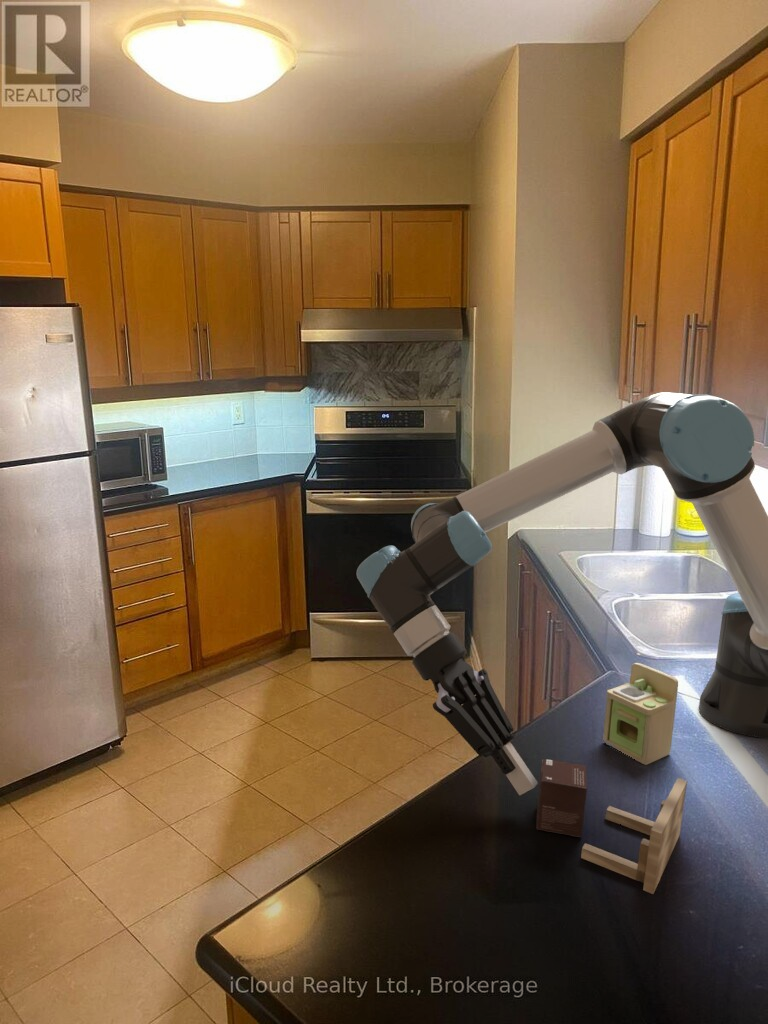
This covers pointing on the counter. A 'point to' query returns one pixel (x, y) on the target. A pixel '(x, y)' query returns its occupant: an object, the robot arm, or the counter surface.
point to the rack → (645, 840)
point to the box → (562, 797)
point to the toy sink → (642, 714)
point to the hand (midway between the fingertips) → (528, 789)
